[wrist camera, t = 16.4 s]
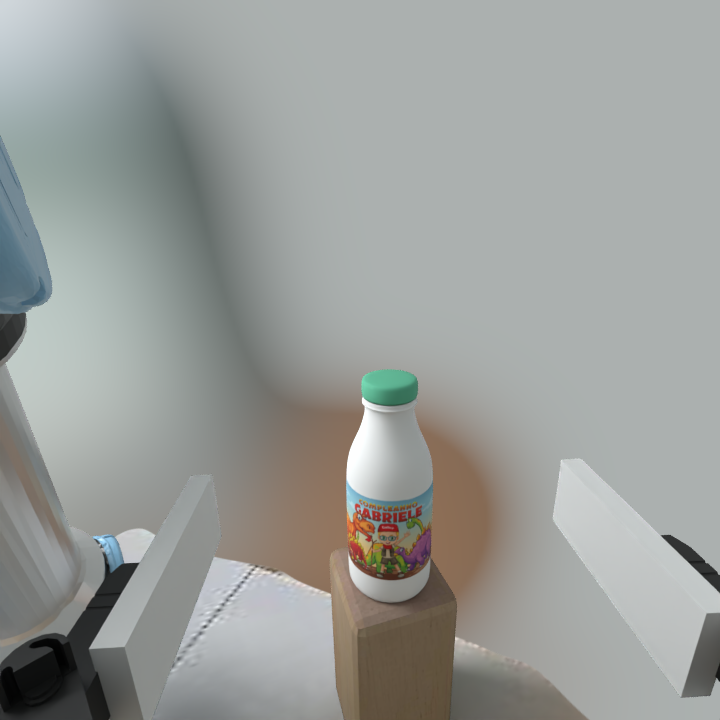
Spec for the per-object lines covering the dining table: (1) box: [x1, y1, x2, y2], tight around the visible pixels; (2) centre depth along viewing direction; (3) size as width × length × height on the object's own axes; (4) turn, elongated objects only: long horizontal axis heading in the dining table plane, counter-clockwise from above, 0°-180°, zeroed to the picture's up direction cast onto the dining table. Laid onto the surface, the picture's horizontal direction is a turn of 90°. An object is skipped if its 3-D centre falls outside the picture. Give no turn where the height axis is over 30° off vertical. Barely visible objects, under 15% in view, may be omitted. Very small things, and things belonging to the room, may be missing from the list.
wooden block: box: [330, 547, 457, 720], centre depth 43 cm, size 10×10×20 cm
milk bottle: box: [347, 370, 433, 603], centre depth 37 cm, size 8×8×20 cm
